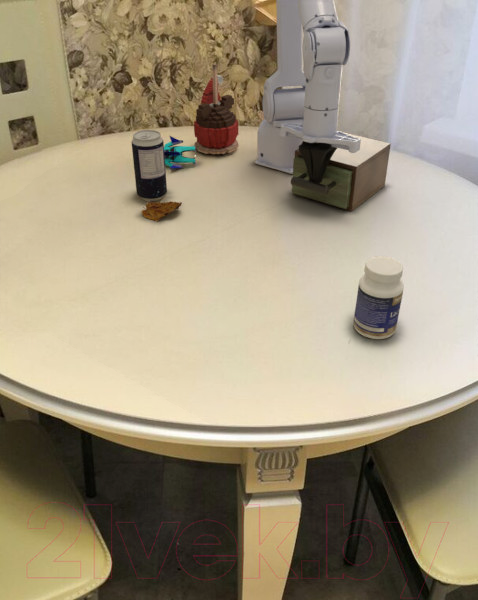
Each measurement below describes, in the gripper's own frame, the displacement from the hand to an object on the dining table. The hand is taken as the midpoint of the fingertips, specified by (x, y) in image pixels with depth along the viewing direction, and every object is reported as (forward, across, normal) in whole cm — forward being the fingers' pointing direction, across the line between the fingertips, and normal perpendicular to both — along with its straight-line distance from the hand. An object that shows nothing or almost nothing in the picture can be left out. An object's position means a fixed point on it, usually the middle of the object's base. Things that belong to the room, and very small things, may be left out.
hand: (316, 182), depth 109 cm
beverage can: (+5, -27, -14) cm, 31 cm away
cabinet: (+5, 0, +10) cm, 11 cm away
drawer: (+4, 0, +6) cm, 7 cm away
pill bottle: (+6, +25, -26) cm, 36 cm away
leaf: (+5, -21, -18) cm, 28 cm away
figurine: (+5, -34, -2) cm, 35 cm away
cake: (+4, -32, +12) cm, 35 cm away
